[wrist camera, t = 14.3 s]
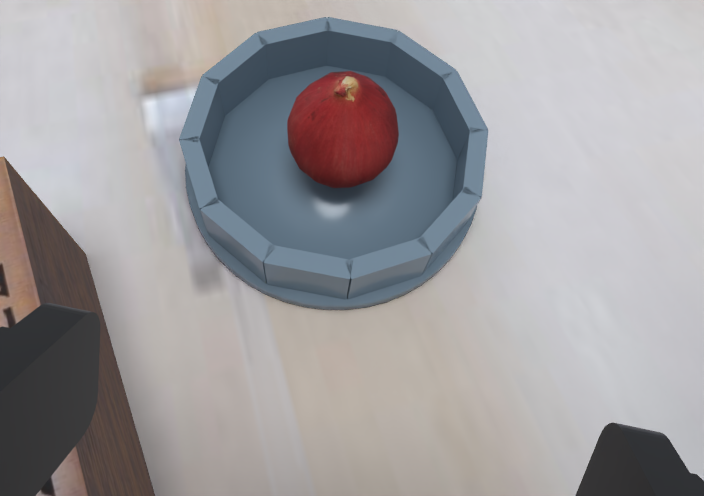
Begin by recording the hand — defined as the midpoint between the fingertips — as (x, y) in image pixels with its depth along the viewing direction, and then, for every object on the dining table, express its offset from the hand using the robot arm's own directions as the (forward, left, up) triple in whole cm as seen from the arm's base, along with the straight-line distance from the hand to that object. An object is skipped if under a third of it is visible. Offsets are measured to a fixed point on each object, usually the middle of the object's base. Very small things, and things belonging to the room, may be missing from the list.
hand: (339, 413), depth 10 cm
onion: (+2, -17, -20) cm, 27 cm away
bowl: (+2, -17, -21) cm, 27 cm away
